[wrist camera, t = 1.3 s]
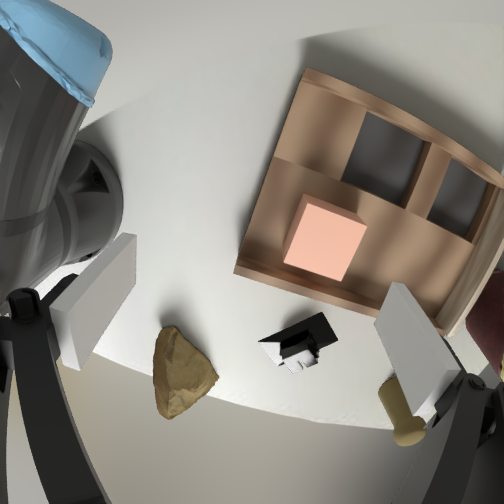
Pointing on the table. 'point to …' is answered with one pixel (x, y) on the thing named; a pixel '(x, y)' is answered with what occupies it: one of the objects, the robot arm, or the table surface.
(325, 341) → the black piece
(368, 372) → the table surface
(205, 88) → the table surface
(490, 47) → the table surface
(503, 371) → the vase
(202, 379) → the rock
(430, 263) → the box
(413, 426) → the cork
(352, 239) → the block
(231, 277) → the table surface
